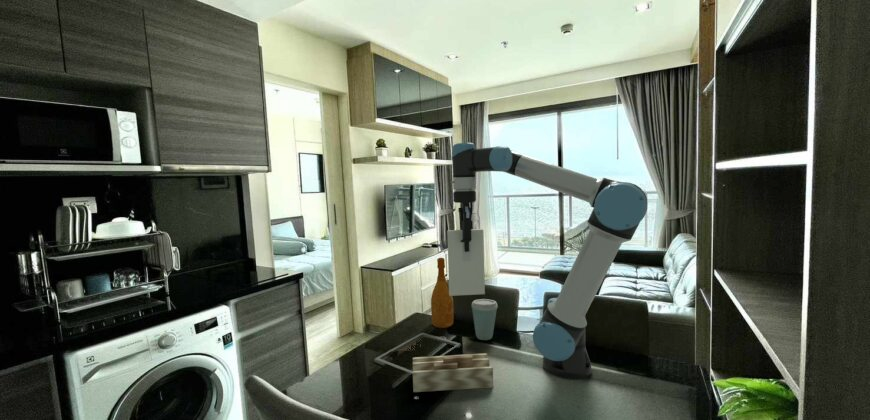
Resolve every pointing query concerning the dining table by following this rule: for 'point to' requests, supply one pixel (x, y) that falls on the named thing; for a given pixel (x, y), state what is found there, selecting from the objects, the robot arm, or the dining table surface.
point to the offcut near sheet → (460, 360)
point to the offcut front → (445, 365)
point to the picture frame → (406, 344)
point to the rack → (451, 374)
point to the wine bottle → (441, 300)
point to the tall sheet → (466, 264)
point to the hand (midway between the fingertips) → (466, 260)
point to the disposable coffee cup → (484, 317)
